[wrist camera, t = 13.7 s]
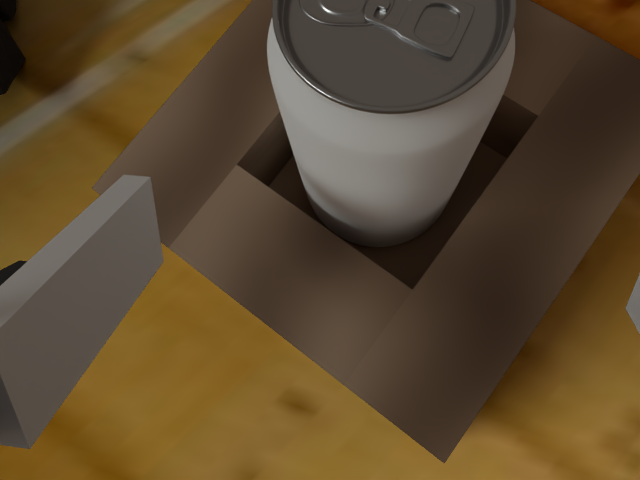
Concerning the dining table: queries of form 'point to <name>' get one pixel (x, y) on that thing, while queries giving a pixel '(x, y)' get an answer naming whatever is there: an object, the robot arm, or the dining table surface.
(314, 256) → the socket block
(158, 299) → the dining table surface
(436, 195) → the can
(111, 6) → the dining table surface
